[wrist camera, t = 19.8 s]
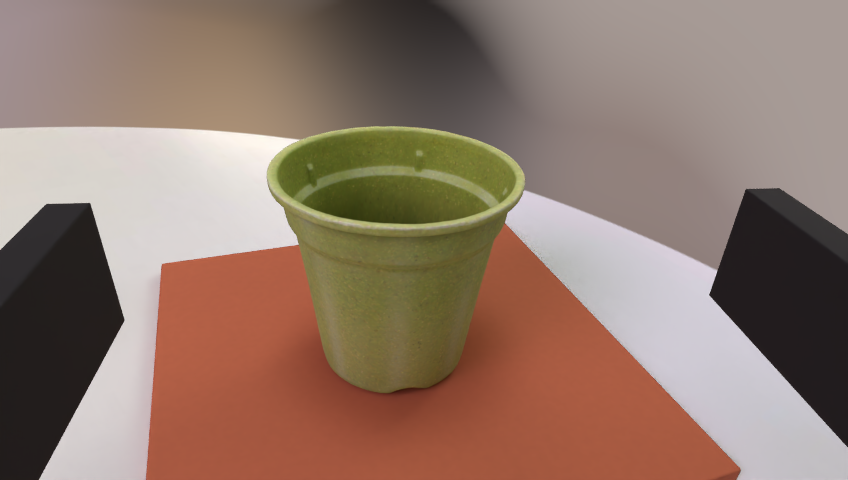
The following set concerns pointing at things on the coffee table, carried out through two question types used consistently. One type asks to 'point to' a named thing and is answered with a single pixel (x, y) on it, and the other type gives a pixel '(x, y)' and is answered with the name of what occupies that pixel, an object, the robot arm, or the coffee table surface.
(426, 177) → the plant pot
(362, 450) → the terracotta mat
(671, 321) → the coffee table surface
